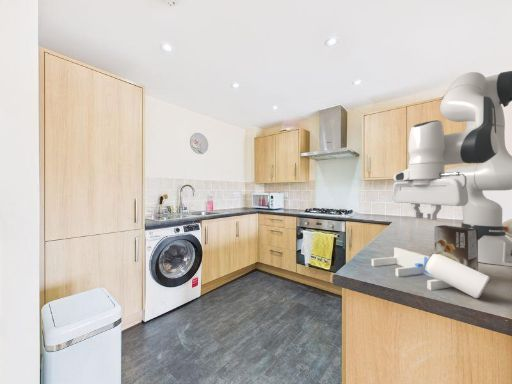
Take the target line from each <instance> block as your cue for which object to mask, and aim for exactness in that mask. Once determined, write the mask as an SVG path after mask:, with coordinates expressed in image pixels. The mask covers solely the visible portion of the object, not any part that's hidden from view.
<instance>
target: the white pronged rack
mask: <svg viewBox="0 0 512 384" xmlns="http://www.w3.org/2000/svg"><path fill="white" fill-rule="evenodd" d="M429 257H430V255H426V254H423V253H419V252H415V251H411V250H409V249H408V250H407V249H404V248H402V247H401V248H400V247H396V246H395V247H393V256H388V257H378V258H377V257H376V258H371V266H372V267H381V266H389V265H398V266H401V267H395V276H396V277H398V278H399V277H407V276H415V275H426V276H428V277H432V278H434V279H428V280H426V286H427V287H426V289H427V290H430V291H434V290H440V289H447V288H454V287H453V286H451V285H449V284H448V283H446V282H444V281H442V280H440V279H438V278H436V277H434V276H433V275H431V274H429V273H428V272H427V271H426V270H424V266H425V264H426V262H427V260H428V258H429Z"/></svg>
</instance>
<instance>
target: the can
mask: <svg viewBox="0 0 512 384" xmlns="http://www.w3.org/2000/svg"><path fill="white" fill-rule="evenodd" d="M429 256H430V257H429V258H428V260H427V262H426V264H425V266H424V270H426V271H427V272H428V273H429V274H431V275H433V276H434V277H436V278H435V279H437V278H438V279H440V280H442V281H444V282H446V283H448V284H449V285H451V286H453V287H452V288H455V289H457V290H459V291H461V292H463V293H465V294H467V295H469V296H471V297H472V298H474V299H479V298H480V297H482V294H483V292H484V291H485V289H486V288H487V286H488V284H489V282H490V281H491V277H490V276H488V275H487V274H485V273H482V272H480V271H479V270H478V271H476V270H474V269H471V268H469V267H467V266H465V265H463V264H460V263H458V262H456V261H454V260H452V259H449V258H447V257H445V256H443V255H440V254H435V252H432V253H431V254H430V255H429ZM434 277H433V278H434Z"/></svg>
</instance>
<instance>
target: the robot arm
mask: <svg viewBox="0 0 512 384" xmlns="http://www.w3.org/2000/svg"><path fill="white" fill-rule="evenodd" d="M511 102H512V70H509V71H508V70H507V71H502V72H500V73H498V74H495V75H490V76H485V75H484V74H482V73H481V72H477V71H476V72H475V71H471V72H467V73H464V74H461V75H459V76H458V77H457V78H456V79H455V80H454V81H453V82H452V83H451V85H450V86H449V87H448V88H447V90H446V91H445V93H444V95H443V96H442V97H441V102H440V105H439V112H440V114H441V116H442V117H443V118H444V119H446V120H448V121H451V122H455V123H462V122H466V126H465V130H464V131H458V132H453V133H447V134H445V132H444V126H443V122H442V121H441V120H430V121H425V122H420V123H417V124H415V125H413V126H412V127H411V128H410V130H409V136H408V143H407V144H408V146H407V149H408V150H407V152H408V156H409V157H408V158H409V161H408V165H407V169H404V170H402V171H400V172H399V173H395V174H393V177H392V178H393V181H394V183H393V185H392V194H391V195H392V200H393V202H394V203H398V204H410V208H411V210H412V211H413V213H414V218H415V219H424V212H421V210H420V207H421V205H430V208H431V211H430V213H427V215H426V216H427V218H426V219H427V220H430V221H437V219H438V218H437V216H438V214H439V213H440V211H441V209H442V206H451V207H453V206H454V207H461V209H462V222H461V225H460V227H463V228H471V229H478V263H482V264H490V265H497V266H498V265H499V266H505V267H506V266H507V267H511V266H512V241H511V239H509V238H508V237H507V233H506V232H509V231H510V227H509V226H504V225H503V208H502V206H501V205H500V204H499V203H498V202H497V201H494V200H492V199H489V198H487V197H486V196H485V195H484V192H483V191H511V190H512V155H511V154H510V153H509V150H507V148H506V140H505V130H506V129H505V128H506V123H505V122H506V120H505V114H504V109H503V108H505V107H507V106H508V105H509V104H510V103H511ZM462 164H464V165H462ZM465 164H466V165H465ZM449 165H458V166H454V167H451V168H447V169H446V168H445V167H446V166H449ZM445 169H446V170H445Z"/></svg>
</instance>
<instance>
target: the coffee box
mask: <svg viewBox="0 0 512 384" xmlns="http://www.w3.org/2000/svg"><path fill="white" fill-rule="evenodd" d="M433 231H434V232H433V233H434V238H433V239H434V254H440V255H443V256H445V257H447V258H449V259H452V260H454V261H456V262H458V263H460V264H463V265H465V266H467V267H469V268H471V269H474V270H476V271H478V272H479V262H478V229H471V228H463V227H461V226H456V225H455V226H454V225H446V224H445V225H444V224H443V225H437V226H436V225H435V226H434V230H433Z"/></svg>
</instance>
